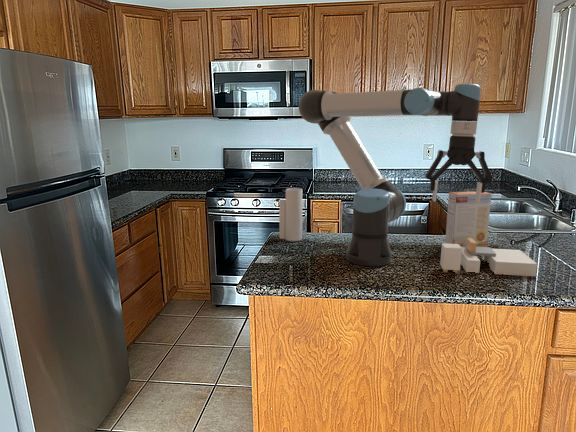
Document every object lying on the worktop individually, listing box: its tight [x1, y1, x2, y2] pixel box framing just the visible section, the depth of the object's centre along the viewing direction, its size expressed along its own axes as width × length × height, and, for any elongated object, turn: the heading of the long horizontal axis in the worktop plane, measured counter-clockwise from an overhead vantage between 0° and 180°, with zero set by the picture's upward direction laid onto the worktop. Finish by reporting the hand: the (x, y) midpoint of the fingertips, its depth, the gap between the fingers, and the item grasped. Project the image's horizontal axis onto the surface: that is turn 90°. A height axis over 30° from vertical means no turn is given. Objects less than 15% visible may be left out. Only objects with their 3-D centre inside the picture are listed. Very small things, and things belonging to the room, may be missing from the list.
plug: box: [439, 242, 462, 274], centre depth 135 cm, size 5×5×8 cm
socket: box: [460, 247, 538, 277], centre depth 140 cm, size 20×15×4 cm
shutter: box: [465, 238, 496, 256], centre depth 142 cm, size 8×8×4 cm
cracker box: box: [444, 191, 492, 247], centre depth 160 cm, size 14×6×21 cm, turn 100°
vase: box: [278, 187, 303, 242], centre depth 172 cm, size 11×7×20 cm, turn 40°
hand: (455, 201), depth 141 cm, fingers open, 13 cm apart
